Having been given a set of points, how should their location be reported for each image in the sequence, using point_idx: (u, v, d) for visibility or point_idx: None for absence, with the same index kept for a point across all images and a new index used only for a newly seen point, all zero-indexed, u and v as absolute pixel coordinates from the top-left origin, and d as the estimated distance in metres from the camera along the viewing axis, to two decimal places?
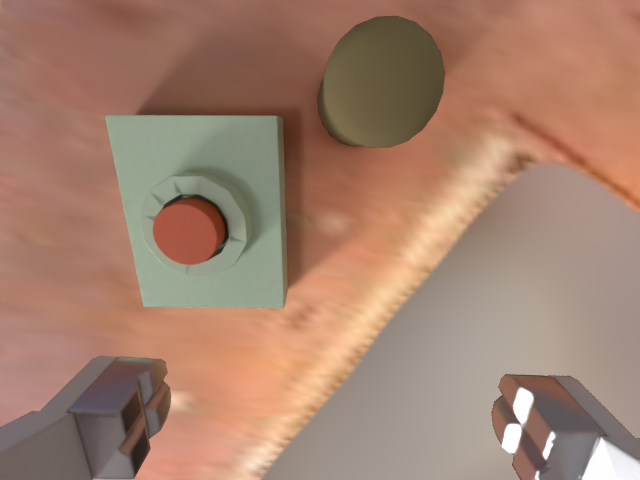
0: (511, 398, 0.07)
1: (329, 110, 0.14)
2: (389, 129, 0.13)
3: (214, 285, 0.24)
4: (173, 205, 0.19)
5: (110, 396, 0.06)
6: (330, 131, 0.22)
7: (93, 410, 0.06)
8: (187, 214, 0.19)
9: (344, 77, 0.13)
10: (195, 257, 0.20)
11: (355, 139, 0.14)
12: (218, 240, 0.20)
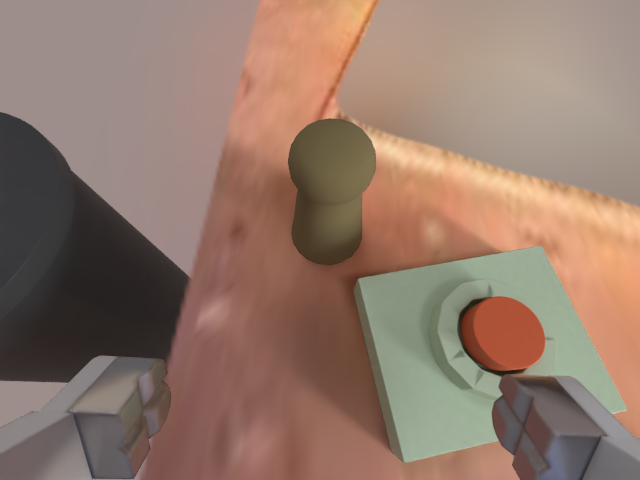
0: (511, 398, 0.07)
1: (358, 186, 0.18)
2: (363, 137, 0.18)
3: (551, 320, 0.21)
4: (480, 345, 0.18)
5: (110, 396, 0.06)
6: (356, 243, 0.26)
7: (93, 410, 0.06)
8: (484, 329, 0.18)
9: (336, 170, 0.17)
10: (529, 317, 0.18)
11: (374, 164, 0.18)
12: None
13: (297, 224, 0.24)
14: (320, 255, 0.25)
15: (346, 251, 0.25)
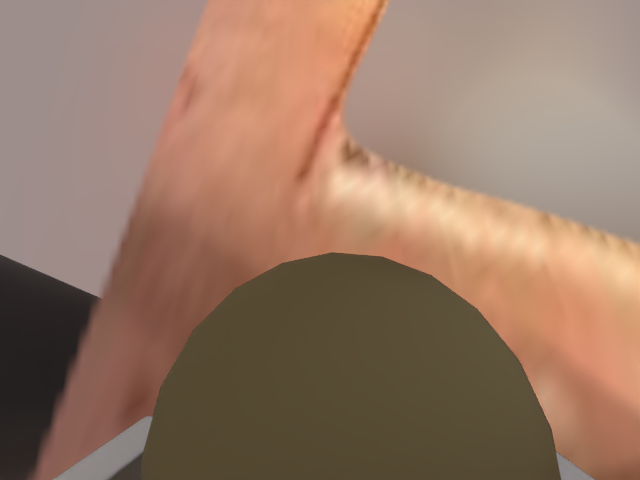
0: None
1: None
2: (509, 394, 0.03)
3: None
4: None
5: None
6: None
7: None
8: None
9: None
10: None
11: None
12: None
13: None
14: None
15: None
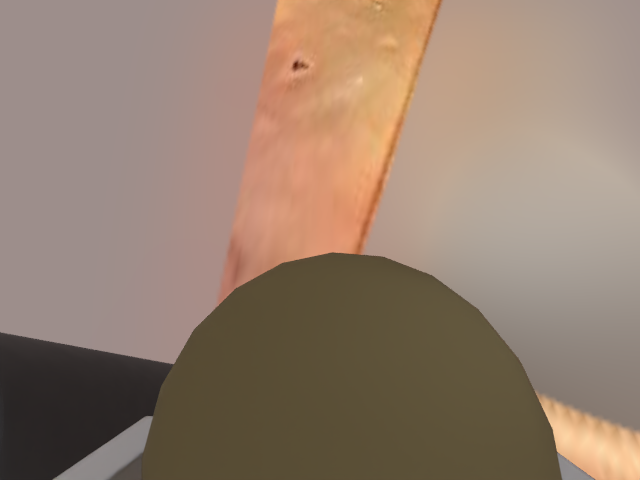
0: None
1: None
2: (510, 393, 0.03)
3: None
4: None
5: None
6: None
7: None
8: None
9: None
10: None
11: None
12: None
13: None
14: None
15: None
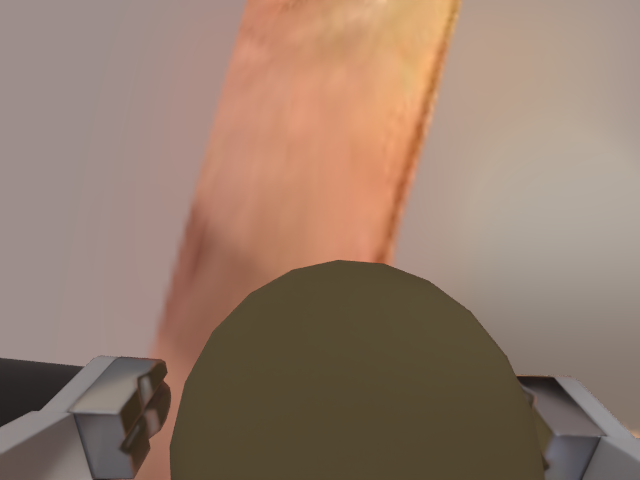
0: None
1: None
2: (497, 387, 0.04)
3: None
4: None
5: (110, 396, 0.06)
6: None
7: (93, 410, 0.06)
8: None
9: None
10: None
11: None
12: None
13: None
14: None
15: None
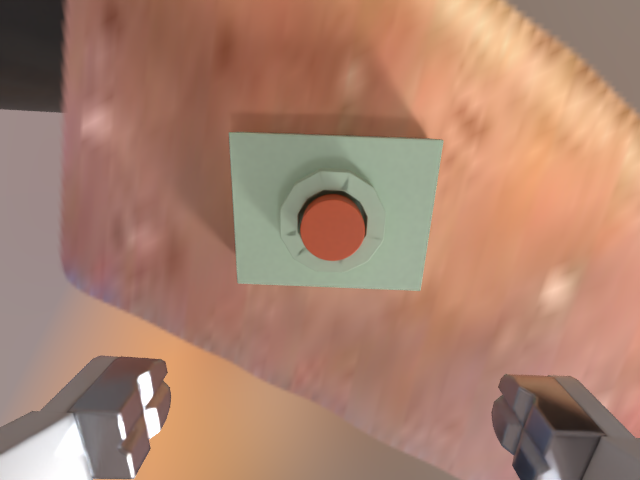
0: (511, 398, 0.07)
1: None
2: None
3: (404, 216, 0.22)
4: (301, 236, 0.20)
5: (110, 396, 0.06)
6: None
7: (93, 410, 0.06)
8: (310, 225, 0.20)
9: None
10: (356, 225, 0.19)
11: None
12: (340, 199, 0.19)
13: None
14: None
15: None
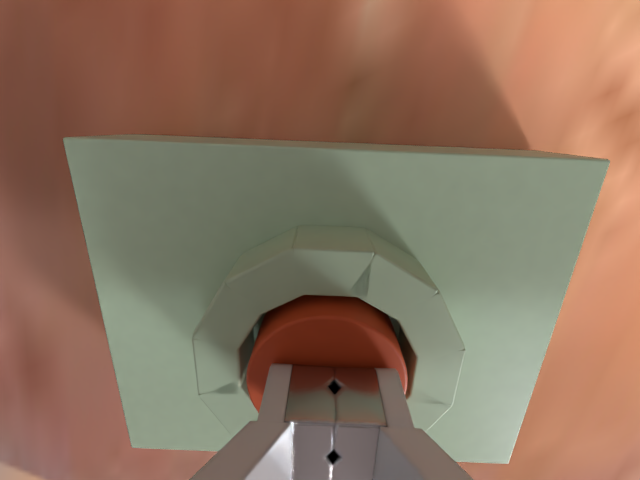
0: None
1: None
2: None
3: (490, 330, 0.10)
4: (250, 396, 0.08)
5: (315, 405, 0.06)
6: None
7: (307, 420, 0.06)
8: None
9: None
10: None
11: None
12: (346, 313, 0.07)
13: None
14: None
15: None
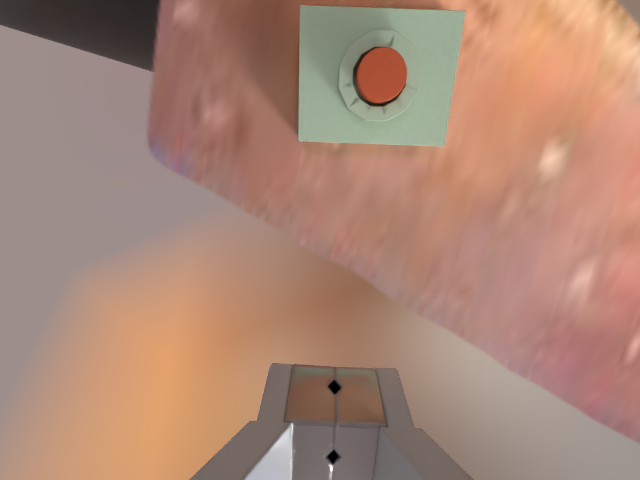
0: None
1: None
2: None
3: (433, 78, 0.29)
4: (358, 80, 0.26)
5: (315, 405, 0.06)
6: None
7: (307, 420, 0.06)
8: (366, 69, 0.26)
9: None
10: (400, 69, 0.26)
11: None
12: (389, 48, 0.25)
13: None
14: None
15: None
